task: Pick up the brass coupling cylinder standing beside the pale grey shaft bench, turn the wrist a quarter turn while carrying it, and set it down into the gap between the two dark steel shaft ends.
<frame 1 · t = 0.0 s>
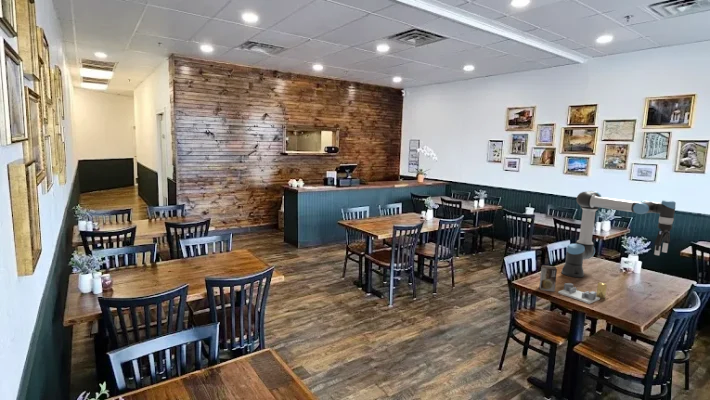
hand: (660, 253, 266), 28 cm above the table, fingers open, 13 cm apart
coffee box: (546, 289, 269), on the table
coupler: (600, 296, 259), on the table
shaft bench: (578, 296, 259), on the table
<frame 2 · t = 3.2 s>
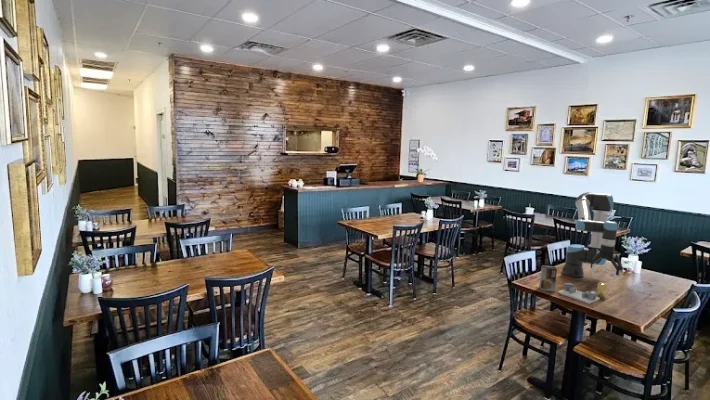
hand: (603, 276, 257), 14 cm above the table, fingers open, 13 cm apart
nothing on the table moved.
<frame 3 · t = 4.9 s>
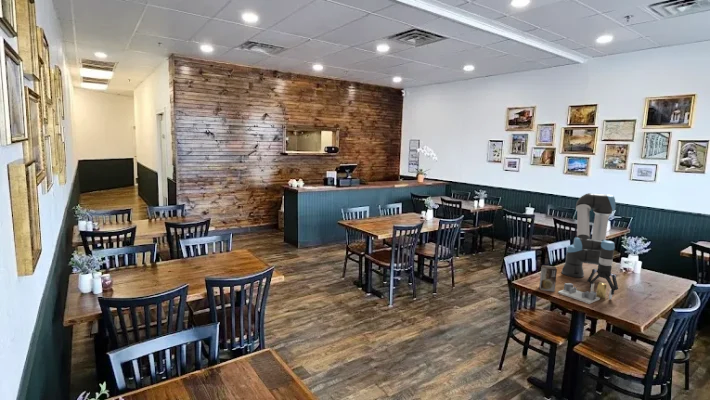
hand: (600, 295, 259), 0 cm above the table, fingers open, 11 cm apart
nothing on the table moved.
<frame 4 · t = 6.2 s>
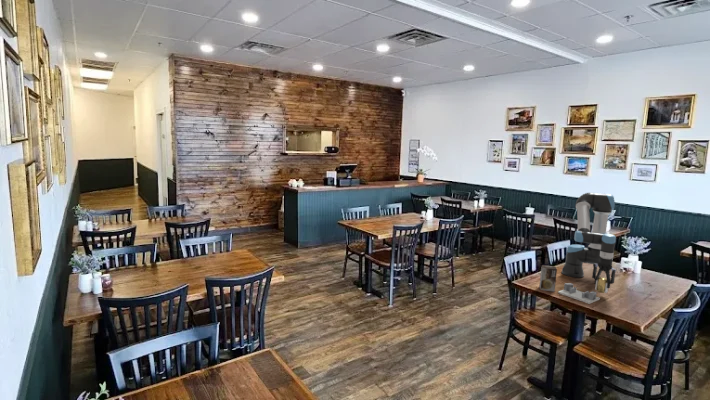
hand: (601, 290, 259), 4 cm above the table, fingers closed on coupler, 5 cm apart
coupler: (601, 291, 260), point 3 cm above the table, touching gripper
everything else where it was.
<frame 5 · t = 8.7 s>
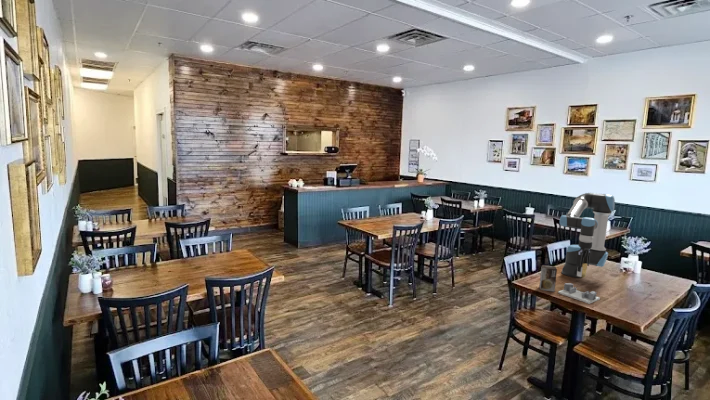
hand: (581, 275, 256), 14 cm above the table, fingers closed on coupler, 5 cm apart
coupler: (581, 276, 256), point 14 cm above the table, touching gripper
everything else where it was.
when the fingers open (2 cm above the table, at t = 11.4 s): coupler stays where it is, resting on shaft bench.
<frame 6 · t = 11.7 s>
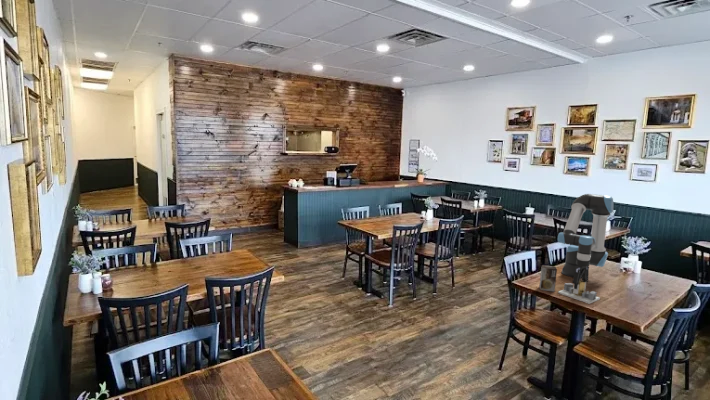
hand: (579, 292, 258), 3 cm above the table, fingers open, 9 cm apart
coupler: (578, 294, 258), point 1 cm above the table, touching shaft bench
everything else where it was.
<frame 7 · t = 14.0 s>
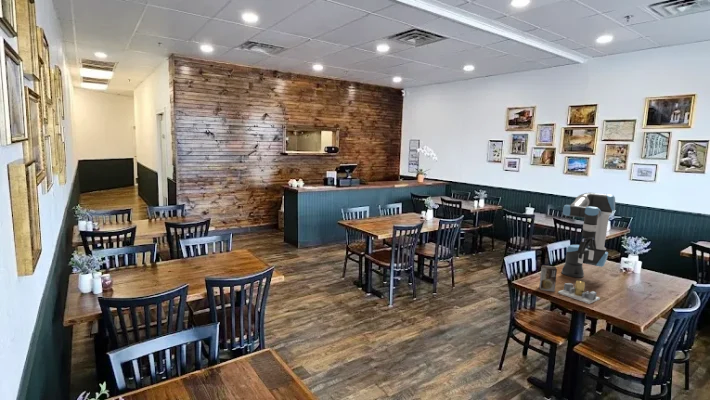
hand: (585, 261, 258), 23 cm above the table, fingers open, 13 cm apart
nothing on the table moved.
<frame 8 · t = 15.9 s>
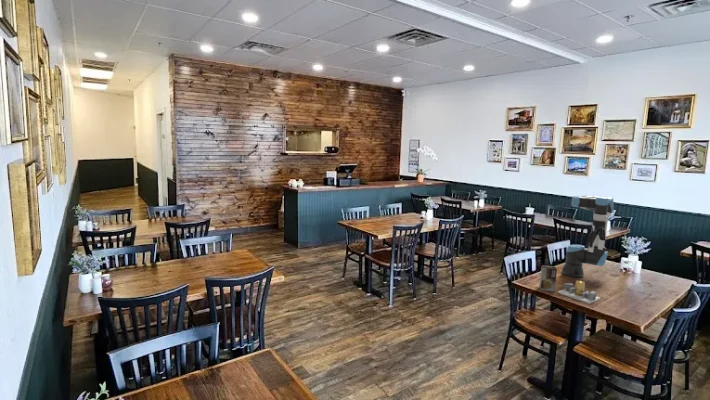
hand: (595, 250, 265), 29 cm above the table, fingers open, 13 cm apart
nothing on the table moved.
at the end: coupler 0.0 cm off-centre on the shaft bench, point 1.2 cm above the shaft bench's base; coupler tilted 0°; the gripper is holding nothing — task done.
